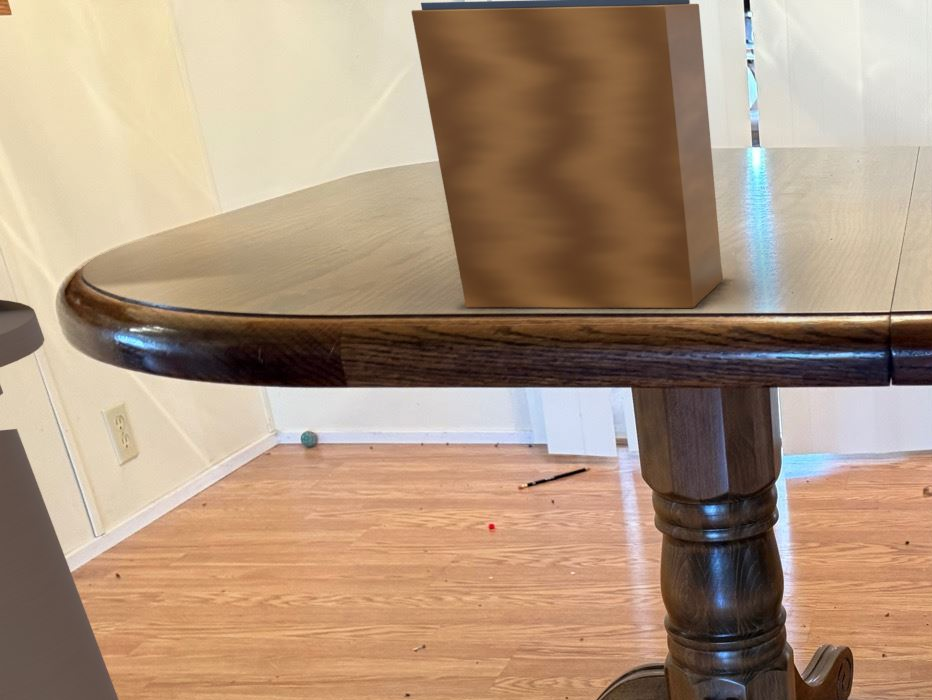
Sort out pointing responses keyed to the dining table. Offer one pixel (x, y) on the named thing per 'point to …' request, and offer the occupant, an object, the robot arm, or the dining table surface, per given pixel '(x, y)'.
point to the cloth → (544, 4)
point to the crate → (574, 154)
